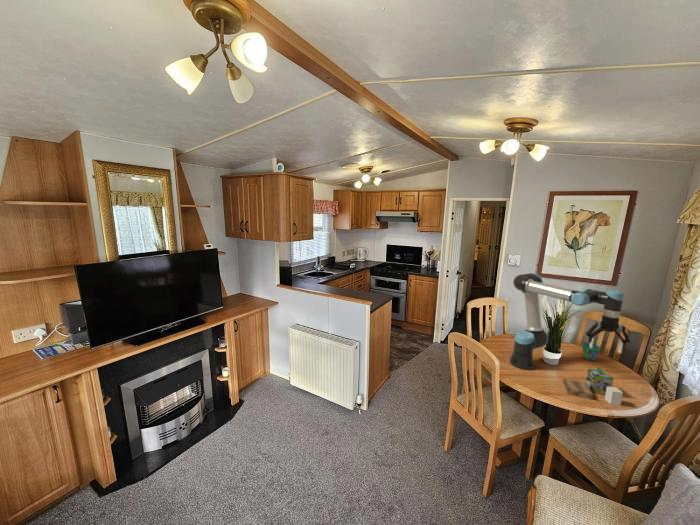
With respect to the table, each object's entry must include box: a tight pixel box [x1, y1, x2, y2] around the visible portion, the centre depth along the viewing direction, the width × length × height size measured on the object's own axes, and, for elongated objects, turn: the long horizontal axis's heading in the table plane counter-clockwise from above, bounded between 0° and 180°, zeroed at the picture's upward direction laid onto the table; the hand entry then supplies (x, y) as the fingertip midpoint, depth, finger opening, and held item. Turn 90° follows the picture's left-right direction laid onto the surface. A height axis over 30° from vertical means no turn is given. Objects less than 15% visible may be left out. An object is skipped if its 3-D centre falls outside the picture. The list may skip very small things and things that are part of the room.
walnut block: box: [562, 378, 594, 401], centre depth 176 cm, size 12×12×4 cm
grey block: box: [604, 386, 624, 406], centre depth 166 cm, size 5×5×8 cm
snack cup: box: [581, 342, 601, 362], centre depth 217 cm, size 16×10×10 cm
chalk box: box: [585, 365, 614, 395], centre depth 177 cm, size 9×9×15 cm
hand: (604, 349), depth 174 cm, fingers open, 13 cm apart
